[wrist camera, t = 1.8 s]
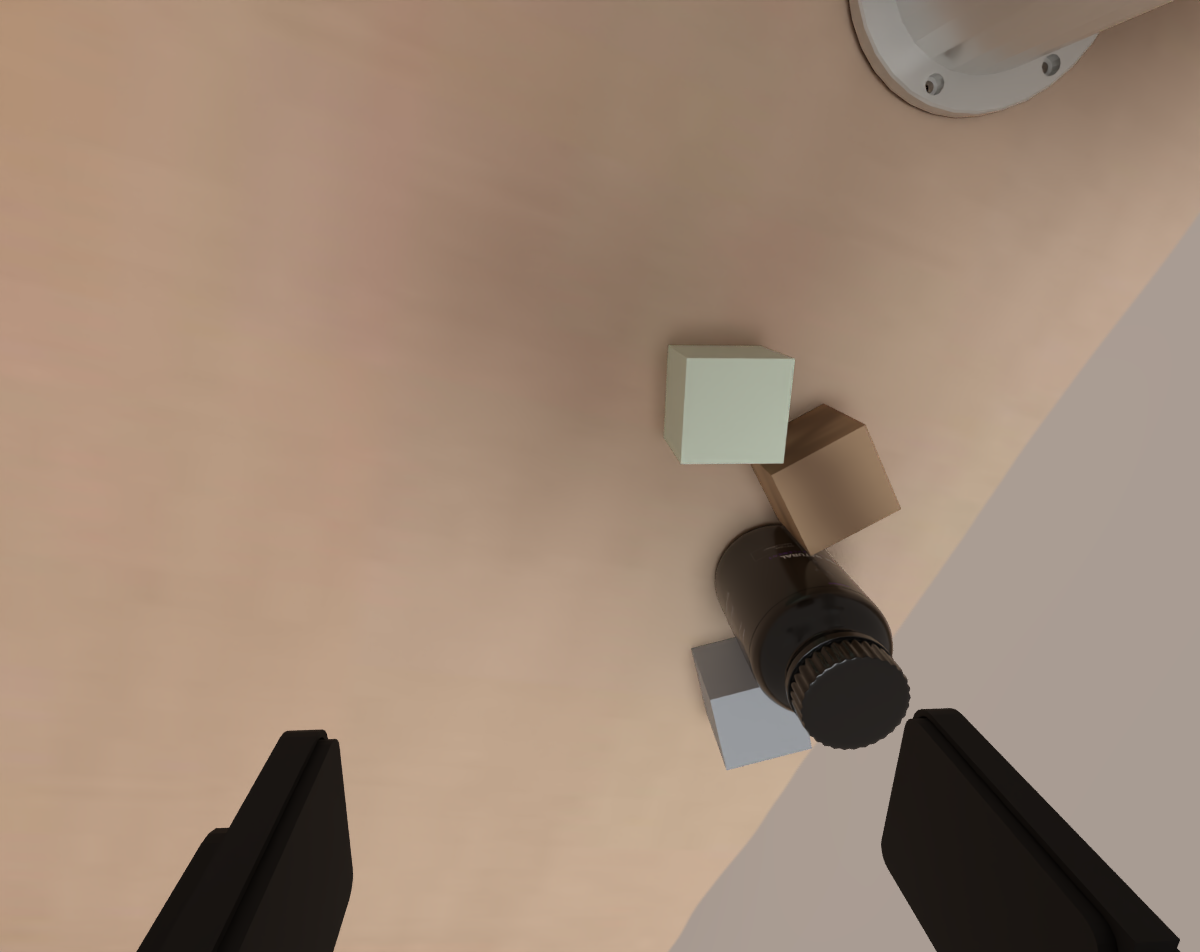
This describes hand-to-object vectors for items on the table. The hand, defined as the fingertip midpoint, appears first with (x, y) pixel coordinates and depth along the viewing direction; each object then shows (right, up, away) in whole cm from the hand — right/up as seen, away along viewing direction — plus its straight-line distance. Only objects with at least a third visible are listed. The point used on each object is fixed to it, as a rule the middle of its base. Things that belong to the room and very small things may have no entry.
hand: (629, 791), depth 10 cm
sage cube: (+6, +10, +24) cm, 26 cm away
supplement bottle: (+9, -1, +28) cm, 29 cm away
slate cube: (+8, -7, +30) cm, 32 cm away
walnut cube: (+11, +6, +26) cm, 28 cm away
